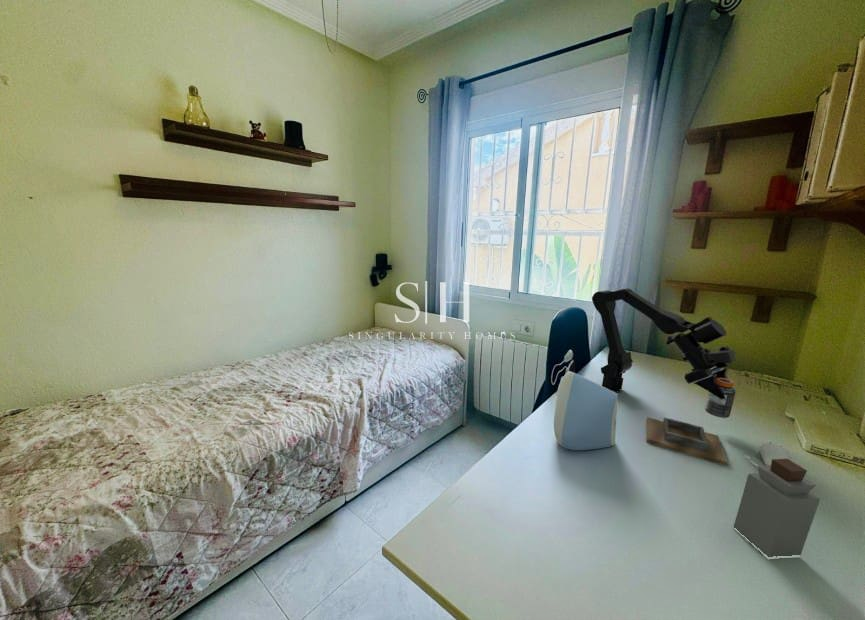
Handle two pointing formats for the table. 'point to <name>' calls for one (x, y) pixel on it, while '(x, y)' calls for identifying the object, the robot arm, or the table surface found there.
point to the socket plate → (685, 439)
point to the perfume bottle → (777, 508)
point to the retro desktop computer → (583, 411)
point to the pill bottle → (718, 405)
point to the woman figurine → (772, 454)
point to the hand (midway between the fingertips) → (727, 396)
